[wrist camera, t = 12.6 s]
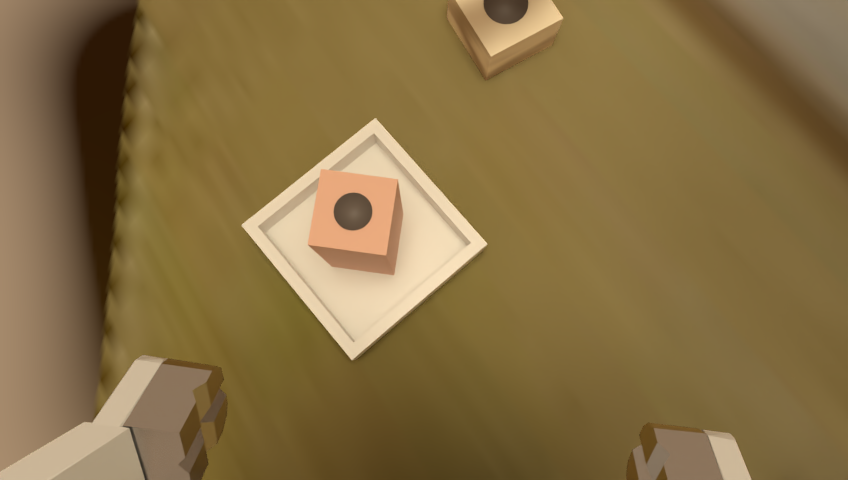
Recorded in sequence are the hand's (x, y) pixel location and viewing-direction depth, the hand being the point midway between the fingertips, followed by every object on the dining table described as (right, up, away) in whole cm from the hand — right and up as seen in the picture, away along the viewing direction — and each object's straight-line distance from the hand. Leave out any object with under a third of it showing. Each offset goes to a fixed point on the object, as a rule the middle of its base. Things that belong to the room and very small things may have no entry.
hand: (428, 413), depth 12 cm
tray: (-4, +3, +32) cm, 32 cm away
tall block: (-4, +3, +31) cm, 32 cm away
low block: (+6, +20, +35) cm, 41 cm away
